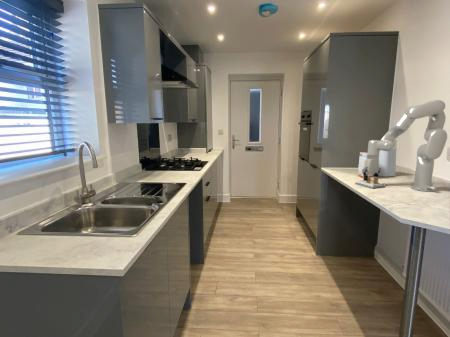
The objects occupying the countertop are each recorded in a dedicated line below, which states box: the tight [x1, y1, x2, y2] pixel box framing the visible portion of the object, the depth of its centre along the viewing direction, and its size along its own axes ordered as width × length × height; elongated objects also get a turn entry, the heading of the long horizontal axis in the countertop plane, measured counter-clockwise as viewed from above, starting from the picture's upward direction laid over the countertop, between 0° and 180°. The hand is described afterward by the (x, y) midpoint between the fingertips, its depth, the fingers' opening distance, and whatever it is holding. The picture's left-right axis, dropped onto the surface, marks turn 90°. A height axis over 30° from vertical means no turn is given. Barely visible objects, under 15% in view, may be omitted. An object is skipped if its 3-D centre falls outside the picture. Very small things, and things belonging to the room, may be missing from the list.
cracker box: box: [357, 151, 374, 179], centre depth 217 cm, size 14×6×21 cm, turn 179°
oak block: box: [362, 175, 380, 184], centre depth 191 cm, size 4×9×6 cm, turn 19°
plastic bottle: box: [373, 147, 397, 178], centre depth 226 cm, size 15×15×28 cm
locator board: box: [354, 180, 387, 190], centre depth 191 cm, size 15×13×2 cm
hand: (370, 180), depth 190 cm, fingers open, 9 cm apart
